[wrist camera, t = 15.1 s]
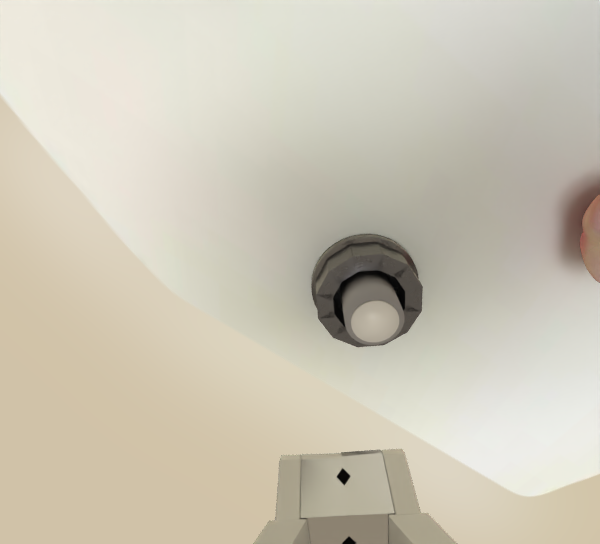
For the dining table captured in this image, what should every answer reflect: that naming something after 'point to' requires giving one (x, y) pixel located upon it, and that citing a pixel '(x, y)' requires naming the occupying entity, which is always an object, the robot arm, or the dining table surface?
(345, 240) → the faceted grey ring
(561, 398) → the dining table surface
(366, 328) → the grey cylinder
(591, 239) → the decorative fruit
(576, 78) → the dining table surface
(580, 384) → the dining table surface
